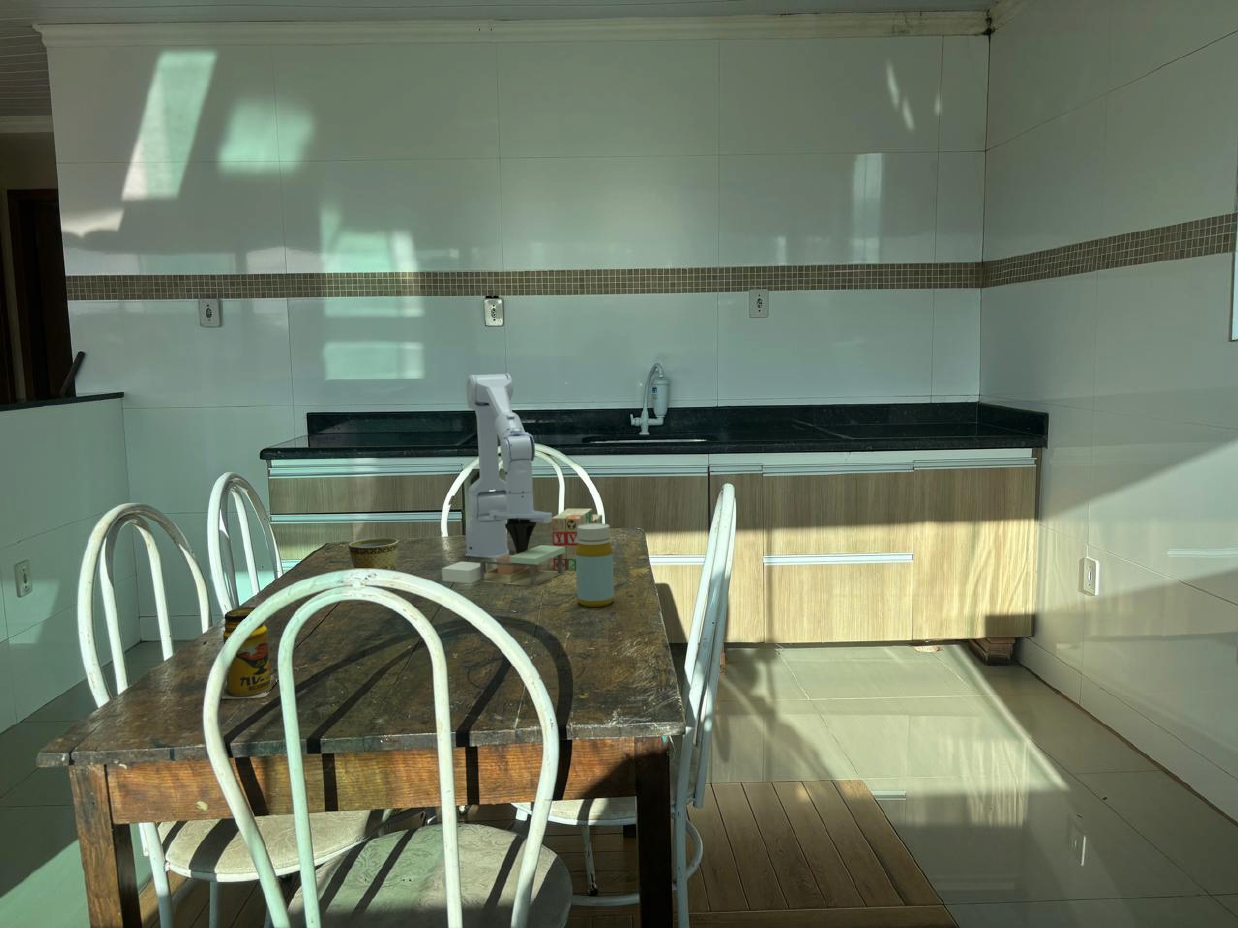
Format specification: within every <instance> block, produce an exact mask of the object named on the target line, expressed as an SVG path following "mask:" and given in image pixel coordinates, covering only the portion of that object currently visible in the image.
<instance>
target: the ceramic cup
mask: <svg viewBox="0 0 1238 928" xmlns="http://www.w3.org/2000/svg"><path fill="white" fill-rule="evenodd" d="M398 548H399V540H398V539H396V538H391V537H374V538H373V537H371V538H365V539H358V540H354V541H352V542H350V543H348V549H349V555H350V559H351V562H352V565H353V568H383V569H392V570H395V571H396V567H397V566H396V565H397V564H396V563H397V560H398V559H397V558H398V550H399V549H398Z"/></svg>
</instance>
